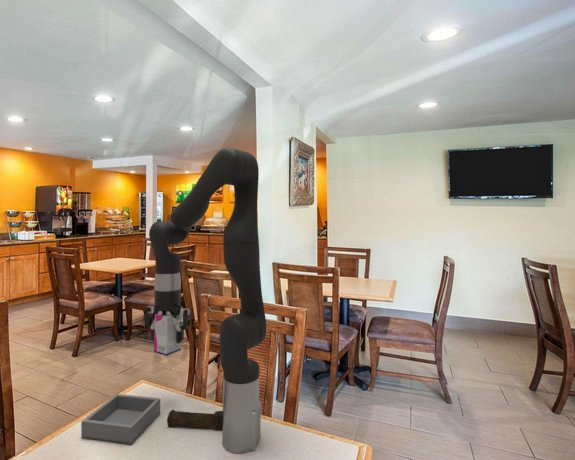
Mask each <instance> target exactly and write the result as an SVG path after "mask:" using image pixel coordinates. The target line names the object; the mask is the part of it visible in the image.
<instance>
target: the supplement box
mask: <svg viewBox="0 0 575 460" xmlns="http://www.w3.org/2000/svg"><path fill="white" fill-rule="evenodd" d="M155 318H156V323H154V343H153V352H154V353H156V354H159V355H162V356H165V357H167V356H170V355H173V354H175V353H177V352H180V351H182V342H181V343H177V329H176V327H175V326H174V325H173V324H172V316H167V315H157V314H156V313H155V314H154V319H155ZM175 319H176V321H177V320H179V319H182V313H180V314H179V315H177V317H176V318H175Z"/></svg>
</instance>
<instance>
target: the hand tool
mask: <svg viewBox="0 0 575 460" xmlns="http://www.w3.org/2000/svg"><path fill="white" fill-rule="evenodd" d="M166 420H167V421H166V422H167V423H166V424H167V427H171V426H172V427H173V428H175V427H177V426H179V427H192V428H194V427H195V428H209V429H213V430H214V431H219V432H220V431H222V432H223V410H218V411H215V412H214V413H208V412H207V413H206V412H205V413H204V412H191V411H180V410H179V411H177V410H176V409H171V410H170V411H169V412H168V414H167V419H166Z"/></svg>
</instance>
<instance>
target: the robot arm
mask: <svg viewBox="0 0 575 460" xmlns="http://www.w3.org/2000/svg"><path fill="white" fill-rule="evenodd" d="M259 170H260V169H259V163H258V160H257V158H256V157H255V155H254V154H252V153H250V152H248V151H244V150H241V149H237V148H234V147H233V148H232V147H223V148H221V149H220V150H218V152H217V153H215V154H214V156H213V157H212V158H211V160H210V162H209V163H208V165H207V166H206V168H205V169H204V170H203V172H202V174H201V175H200V177H199V178H198V179H197V181H196V183H195V185H194V186H193V187H192V189H191V190H190V191H189V193H188V194H187V195H186V196H185V198H183V200H181V202H179V203H178V205H177V206H176V207H175V208H174V209H173V210H172V212H171V214H170V220H169V221H168V220H167V221H166V220H165V221H164V220H163V221H162V220H160V221H155V222H154V223H153V224H151V226H150V228H149V230H148V237H149V242H150V244H151V248H152V252H153V256H154V260H155V266H154V267H155V268H154V269H155V270H154V274H155V275H154V282H153V283H154V284H153V287H154V288H153V289H154V292H153V293H154V298H153V299H154V301H153V302H154V306H153V305H148V306H146V307H145V308H144V326H145V327H146V328H150V330H151V340H152V342H154V323H156V318H155V317H154V313H155V314H157V315H167V316H172V324H173V325H174V326H175V327H176V329H177V343H181V344H182V342H183V341H184V338H185V334H184V333H185V331H186V330H188V329H189V328H190V327H191V314H192V313H191V312H192V309H191V308H190V307H188V308H182V306H181V300H182V299H181V298H182V297H181V296H182V293H181V292H182V286H181V285H182V279H181V278H182V277H181V258H180V255H179V254H178V253H177V252H171V250H170V248H169V245H178V244H181V243H182V242H184V241H185V240H186V239H187V237H188V235H189V234H190V232H191V231H192V227H194V225H196V224H197V223H198V222H199V221H200V220H201V219H202V218H203V217H204V216H205V214H206V213H207V212H208V209H209V206H210V202H211V198H212V196H213V195H214V194H215V192H217V191H218V190H220V189H221V188H222V187H224V186H226V185H228V186H233V192H234V203H233V204H234V205H233V210H232V213H231V215H230V218H229V220H228V223H227V225H226V226H225V230H224V233H223V237H222V248H223V249H222V250H223V262H224V265H225V268H226V270H227V272H228V274H229V276H230V277H231V279H232V281H233V283H234V285H235V286H236V288H237V290H238V294H239V299H240V313H239V312H238V313H236V314H233V315H229V316H227V317H226V318H224V319H223V321H222V322H221V325H220V329H219V353H220V355H219V357H220V366H221V368H222V373H223V374H222V378H223V380H222V383H223V384H222V411H223V431H222V433H221V434H222V435H221V438H222V442H221V443H222V446H223V448H224V449H225V450H226V451H228V452H231V453H235V454H239V453H242V454H243V453H247V452H249V451H252V452H254V451H256V449H257V447H258V445H259V444H258V443H259V441H260V439H261V424H262V423H261V422H262V419H261V418H262V401H261V400H260V373H261V371H260V365H259V363H258V361H256V360H254V359H252V358H249V357H248V355H249V354H248V350H250V349H252V348H255V347H257V346H259V345H261V344H262V343H263V342H264V340H265V339H266V335H267V320H266V318H267V317H266V312H265V307H264V306H265V305H264V298H263V292H262V291H263V290H262V280H261V279H262V277H261V265H260V255H261V254H260V238H259V219H258V217H259V216H258V215H259V213H258V200H259V199H258V196H259V193H258V192H259V176H260V175H259ZM180 313H181V317H182V318H181V319H179V320H177V321H176V319H175V318H176V317H177V315H179V314H180Z"/></svg>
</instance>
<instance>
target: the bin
mask: <svg viewBox="0 0 575 460" xmlns="http://www.w3.org/2000/svg"><path fill="white" fill-rule="evenodd" d="M160 415H161V398H160V397H159V398H157V397H152V396H151V397H150V396H149V397H148V396H140V395H130V394H124V393H115V394H114V395H113V396H112V397H111V398H109V399H107V401H106V402H105V403H103V404H102V405H101V406H99V407H98V408H97V409H95V410H94V411H93V412H92V413H90V414H89V415H88V416H86V417H85V418H84V419H82V420H81V422H80V423H81V424H80V425H81V426H80V427H81V429H80V430H81V431H80V433H81V434H80V435H81V438H80V439H82V440H83V439H84V440H90V441H91V440H92V441H97V442H105V443H106V442H107V443H110V444H111V443H112V444H113V443H114V444H119V445H128V446H132V445H133V444H134V443H135V442H136V441H137V439H139V438H140V436H141V435H142V434H143V433H144V432H145V431H146V430H147V429H148V428H149V427H150V426H151V424H152V423H153V422H154V421H155V420H156V419H157V418H158V416H160Z"/></svg>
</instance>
